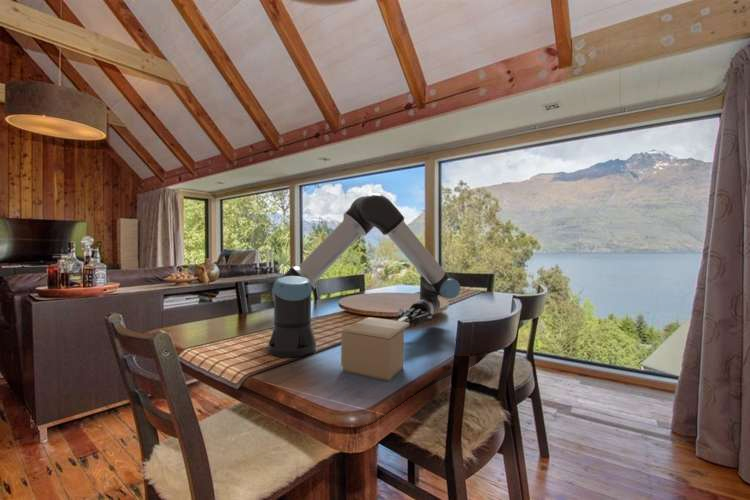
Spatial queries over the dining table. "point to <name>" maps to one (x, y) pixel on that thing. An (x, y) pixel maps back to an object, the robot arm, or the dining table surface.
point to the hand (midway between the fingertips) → (399, 324)
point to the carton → (372, 355)
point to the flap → (377, 327)
